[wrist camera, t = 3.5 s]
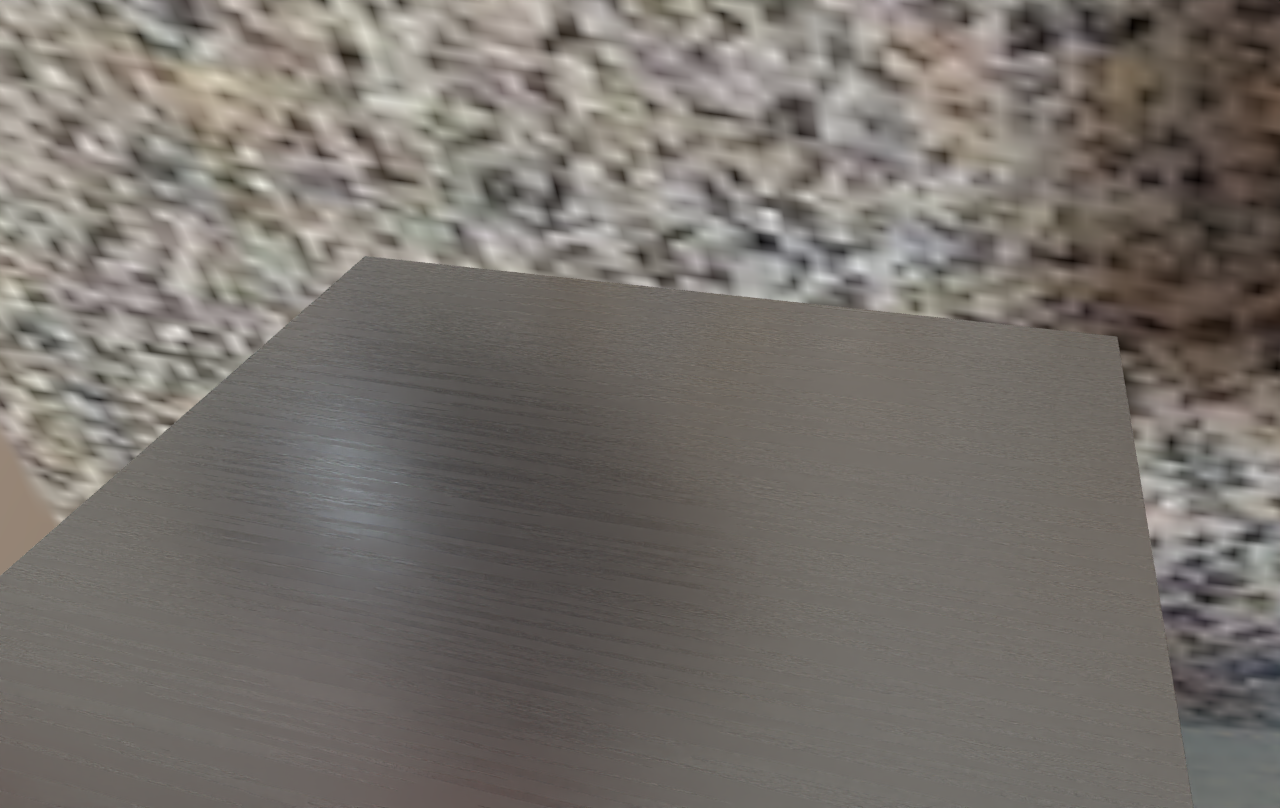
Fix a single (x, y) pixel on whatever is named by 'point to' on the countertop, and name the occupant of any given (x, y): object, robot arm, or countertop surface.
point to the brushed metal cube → (607, 567)
